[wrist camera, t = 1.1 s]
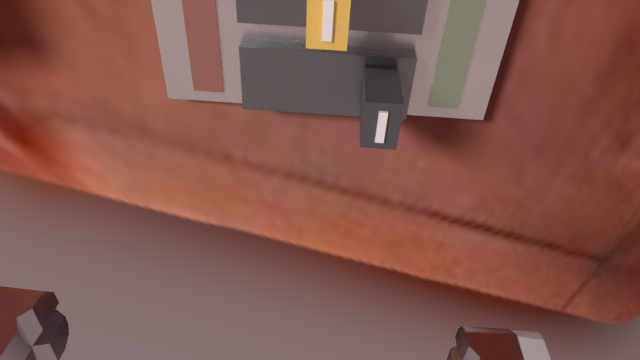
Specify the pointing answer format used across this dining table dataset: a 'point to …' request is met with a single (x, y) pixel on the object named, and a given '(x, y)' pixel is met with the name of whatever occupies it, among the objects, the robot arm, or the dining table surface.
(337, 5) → the breaker
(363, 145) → the breaker
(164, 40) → the panel
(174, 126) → the dining table surface
